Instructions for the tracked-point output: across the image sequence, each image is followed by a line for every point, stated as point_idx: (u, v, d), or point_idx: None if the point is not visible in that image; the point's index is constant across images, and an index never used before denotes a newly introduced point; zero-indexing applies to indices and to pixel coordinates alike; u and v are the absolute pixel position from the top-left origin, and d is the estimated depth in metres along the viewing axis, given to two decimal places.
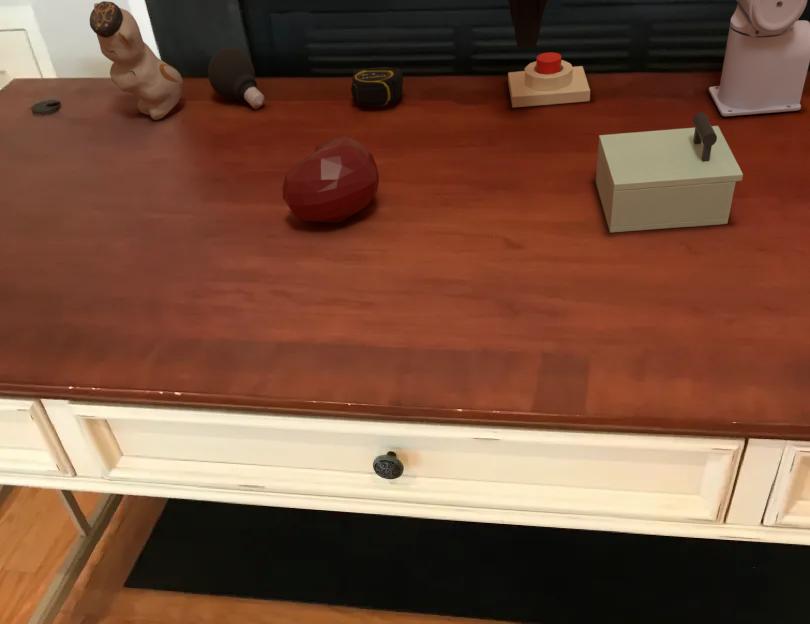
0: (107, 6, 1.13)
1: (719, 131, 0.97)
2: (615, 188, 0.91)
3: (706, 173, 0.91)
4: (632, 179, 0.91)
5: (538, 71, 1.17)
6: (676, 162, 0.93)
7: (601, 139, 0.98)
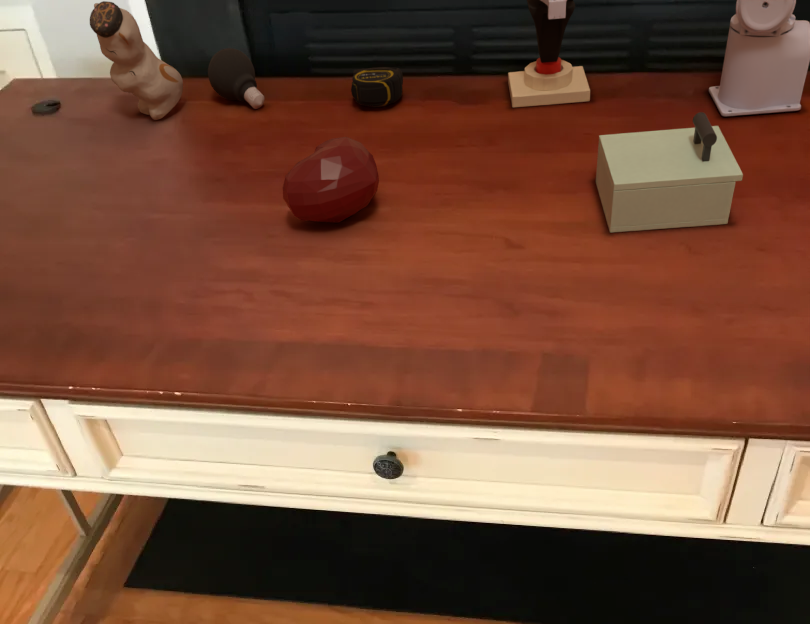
0: (107, 6, 1.13)
1: (719, 131, 0.97)
2: (615, 188, 0.91)
3: (706, 173, 0.91)
4: (632, 179, 0.91)
5: None
6: (676, 162, 0.93)
7: (601, 139, 0.98)
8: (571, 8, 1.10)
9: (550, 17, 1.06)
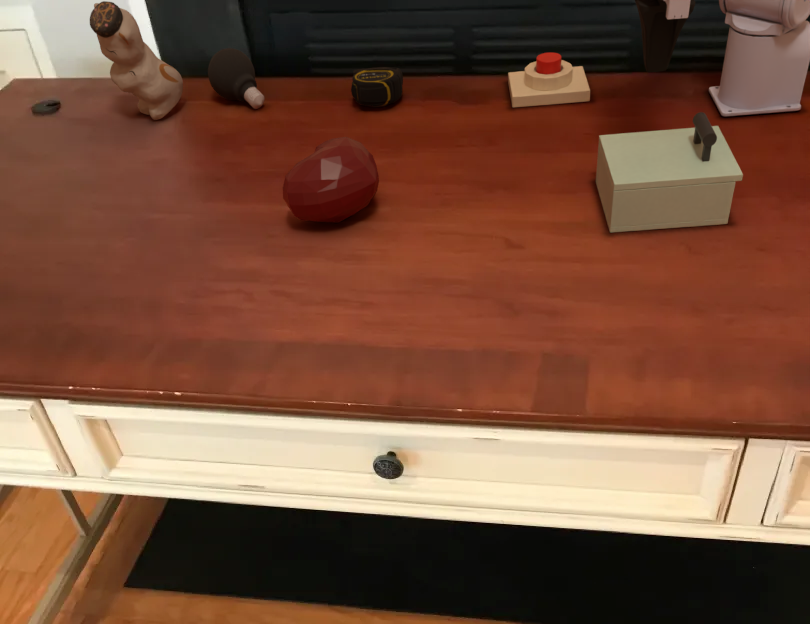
0: (107, 6, 1.13)
1: (719, 131, 0.97)
2: (615, 188, 0.91)
3: (706, 173, 0.91)
4: (632, 179, 0.91)
5: (538, 71, 1.17)
6: (676, 162, 0.93)
7: (601, 139, 0.98)
8: (691, 6, 0.90)
9: (669, 17, 0.86)
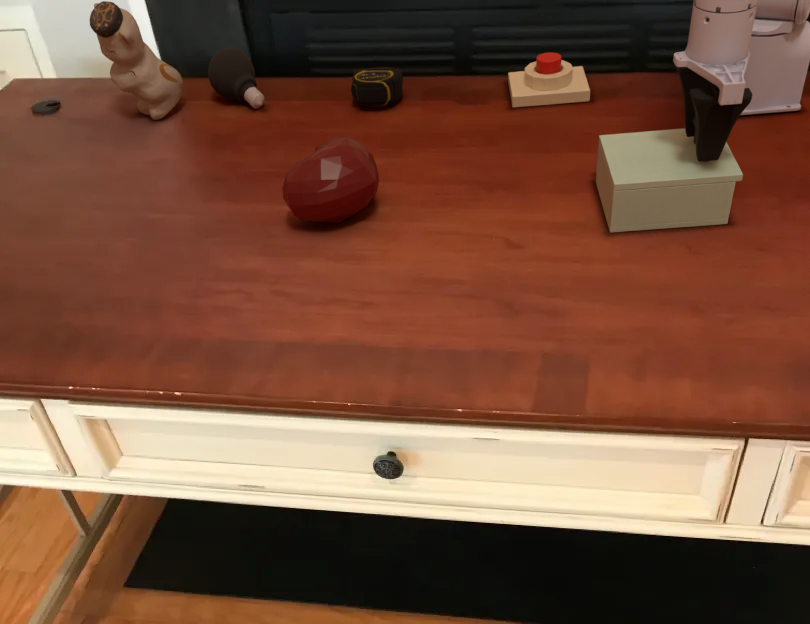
0: (107, 6, 1.13)
1: None
2: (615, 188, 0.91)
3: (706, 173, 0.91)
4: (632, 179, 0.91)
5: (538, 71, 1.17)
6: (676, 162, 0.93)
7: (601, 139, 0.98)
8: (748, 98, 0.85)
9: (722, 103, 0.83)
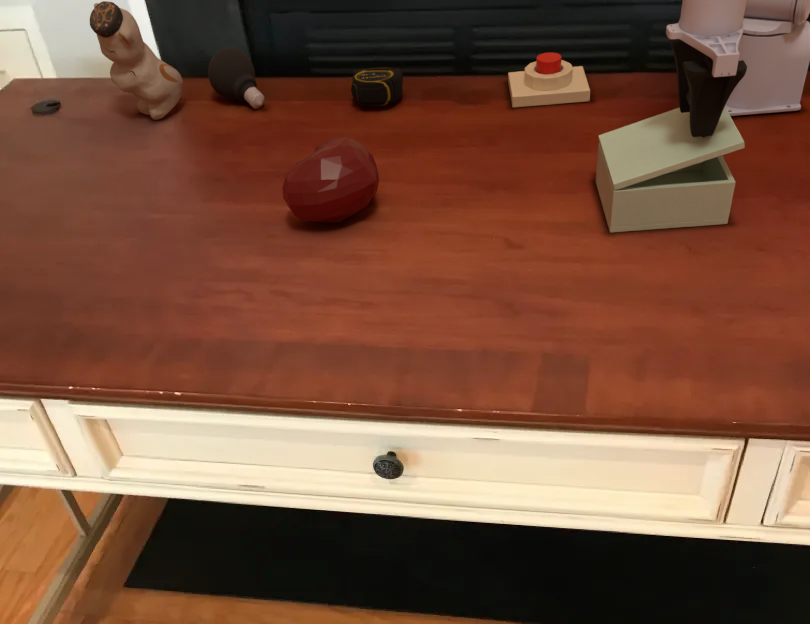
0: (107, 6, 1.13)
1: None
2: (615, 188, 0.91)
3: (706, 149, 0.89)
4: (631, 174, 0.91)
5: (538, 71, 1.17)
6: (675, 145, 0.91)
7: (600, 139, 0.98)
8: (743, 71, 0.83)
9: (716, 75, 0.81)
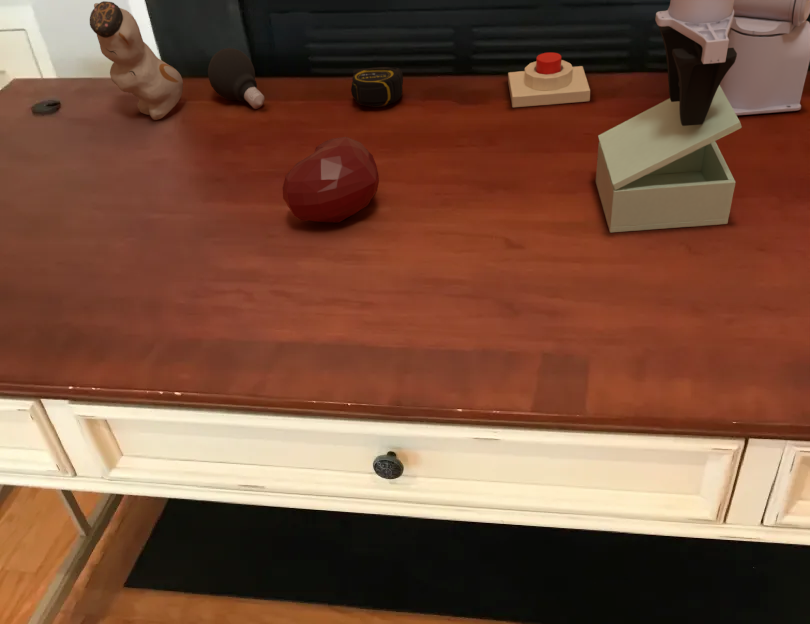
0: (107, 6, 1.13)
1: None
2: (615, 187, 0.91)
3: (702, 135, 0.88)
4: (629, 171, 0.91)
5: (538, 71, 1.17)
6: (672, 135, 0.91)
7: (600, 139, 0.98)
8: (732, 58, 0.83)
9: (705, 61, 0.81)
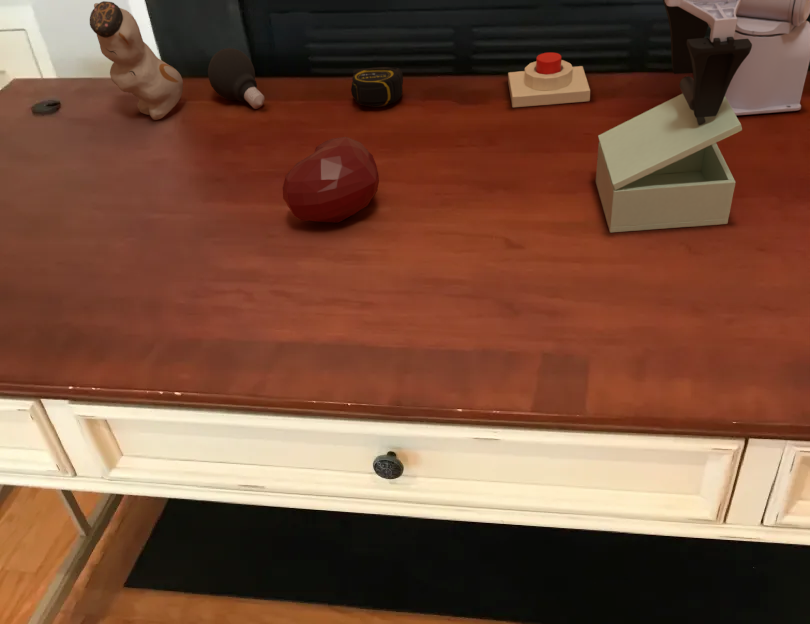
0: (107, 6, 1.13)
1: None
2: (615, 187, 0.91)
3: (703, 137, 0.88)
4: (630, 172, 0.91)
5: (538, 71, 1.17)
6: (673, 137, 0.91)
7: (600, 139, 0.98)
8: (747, 48, 0.82)
9: (714, 39, 0.82)
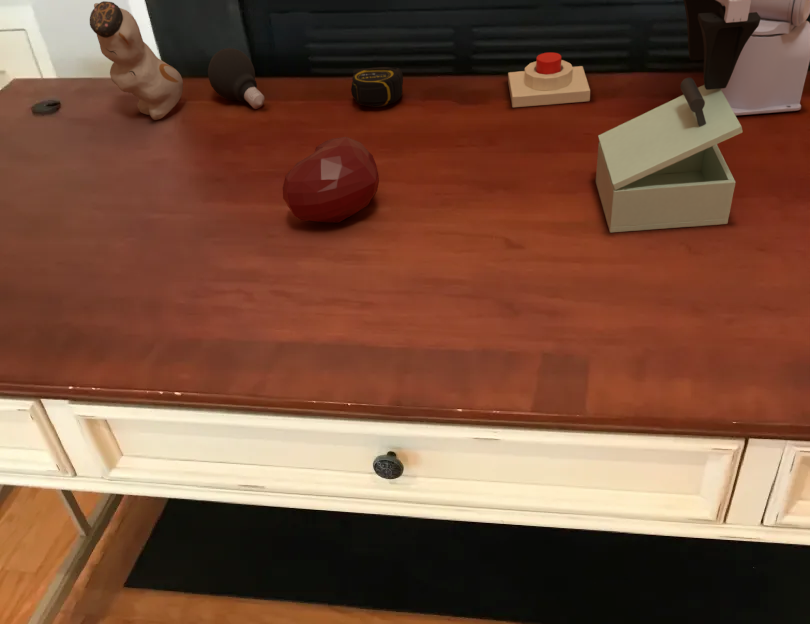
0: (107, 6, 1.13)
1: None
2: (615, 187, 0.91)
3: (703, 138, 0.88)
4: (630, 172, 0.91)
5: (538, 71, 1.17)
6: (673, 138, 0.91)
7: (600, 139, 0.98)
8: (756, 21, 0.86)
9: (728, 20, 0.84)
